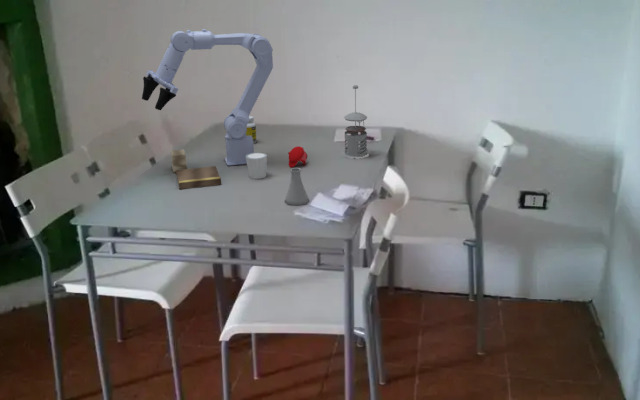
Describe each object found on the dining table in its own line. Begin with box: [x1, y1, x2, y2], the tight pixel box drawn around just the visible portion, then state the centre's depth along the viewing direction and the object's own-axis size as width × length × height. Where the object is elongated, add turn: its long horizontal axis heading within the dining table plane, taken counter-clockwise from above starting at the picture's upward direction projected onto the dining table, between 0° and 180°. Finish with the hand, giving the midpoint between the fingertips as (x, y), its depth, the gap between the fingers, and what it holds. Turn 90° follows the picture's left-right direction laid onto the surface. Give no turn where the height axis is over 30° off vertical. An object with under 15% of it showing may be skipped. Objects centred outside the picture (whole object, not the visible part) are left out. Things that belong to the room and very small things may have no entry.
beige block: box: [170, 149, 188, 174], centre depth 225 cm, size 5×6×6 cm
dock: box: [175, 165, 222, 190], centre depth 215 cm, size 13×13×2 cm
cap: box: [287, 145, 308, 169], centre depth 227 cm, size 8×6×6 cm
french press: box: [342, 84, 369, 157], centre depth 233 cm, size 10×12×25 cm
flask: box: [284, 167, 310, 206], centre depth 195 cm, size 7×7×10 cm
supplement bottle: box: [246, 115, 257, 144], centre depth 253 cm, size 5×5×10 cm
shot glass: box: [246, 152, 268, 180], centre depth 217 cm, size 7×7×7 cm
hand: (151, 104), depth 217 cm, fingers open, 7 cm apart
